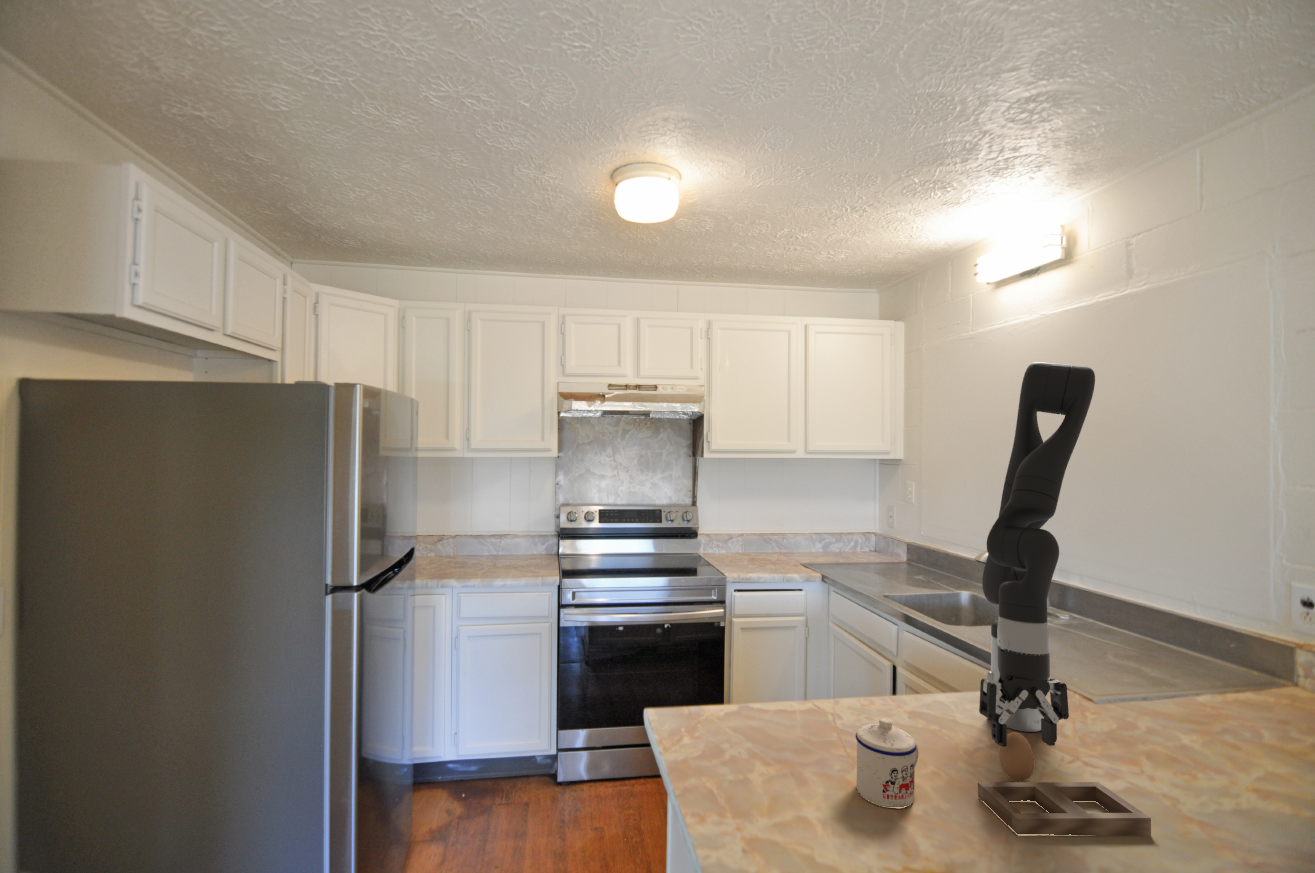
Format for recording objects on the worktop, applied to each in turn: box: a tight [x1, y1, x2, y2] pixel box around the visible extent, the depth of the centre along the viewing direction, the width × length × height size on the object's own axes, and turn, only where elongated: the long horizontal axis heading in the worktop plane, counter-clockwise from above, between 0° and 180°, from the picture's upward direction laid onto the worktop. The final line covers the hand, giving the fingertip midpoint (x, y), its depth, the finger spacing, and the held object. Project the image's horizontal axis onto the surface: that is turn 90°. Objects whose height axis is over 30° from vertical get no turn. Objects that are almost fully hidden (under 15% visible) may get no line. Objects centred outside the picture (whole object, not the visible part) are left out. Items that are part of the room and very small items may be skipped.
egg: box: [998, 731, 1035, 782], centre depth 99 cm, size 5×5×8 cm
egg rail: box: [977, 781, 1152, 837], centre depth 89 cm, size 20×10×2 cm, turn 93°
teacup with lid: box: [855, 717, 919, 807], centre depth 95 cm, size 12×9×12 cm
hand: (1024, 744), depth 98 cm, fingers open, 8 cm apart
